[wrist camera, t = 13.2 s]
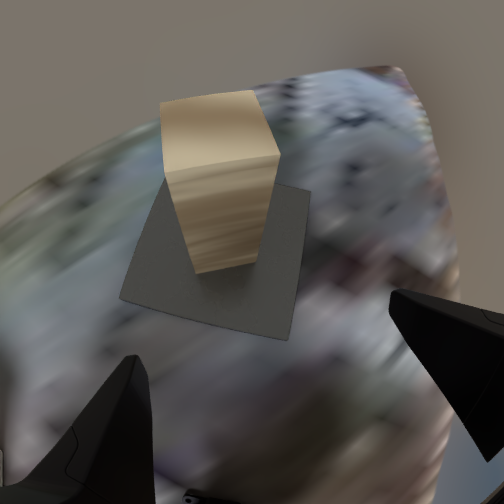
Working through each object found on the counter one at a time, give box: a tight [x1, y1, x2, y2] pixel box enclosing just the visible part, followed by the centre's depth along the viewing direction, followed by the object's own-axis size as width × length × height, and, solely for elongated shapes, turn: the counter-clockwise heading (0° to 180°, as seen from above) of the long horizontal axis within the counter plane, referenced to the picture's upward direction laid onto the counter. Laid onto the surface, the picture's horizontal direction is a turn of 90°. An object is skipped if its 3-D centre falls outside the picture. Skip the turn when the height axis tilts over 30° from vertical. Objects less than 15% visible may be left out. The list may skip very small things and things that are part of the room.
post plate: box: [119, 176, 310, 341], centre depth 23 cm, size 14×14×4 cm
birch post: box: [160, 90, 281, 274], centre depth 19 cm, size 5×5×13 cm
